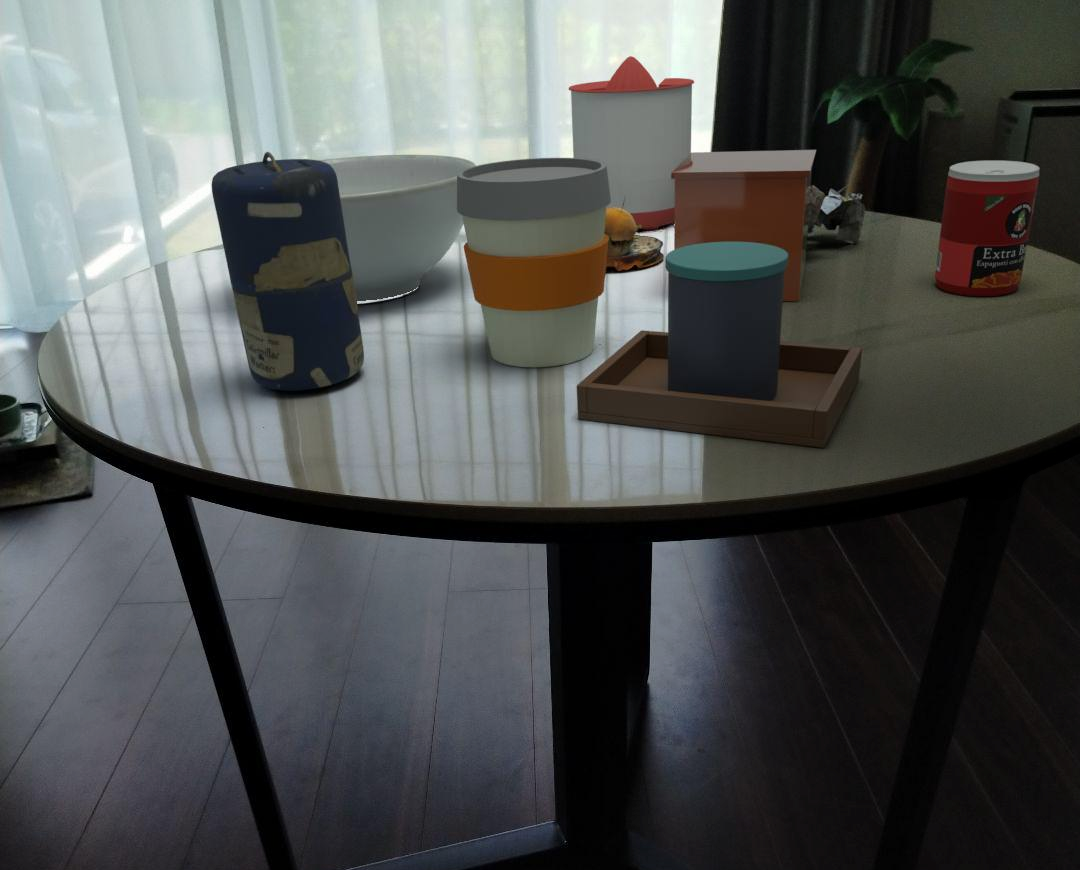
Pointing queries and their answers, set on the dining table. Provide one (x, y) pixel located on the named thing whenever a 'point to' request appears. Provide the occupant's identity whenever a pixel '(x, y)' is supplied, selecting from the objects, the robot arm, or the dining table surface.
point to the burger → (629, 242)
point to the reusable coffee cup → (536, 254)
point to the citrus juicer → (635, 137)
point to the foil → (837, 213)
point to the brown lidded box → (747, 203)
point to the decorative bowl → (397, 218)
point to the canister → (290, 271)
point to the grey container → (725, 319)
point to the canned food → (985, 227)
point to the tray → (790, 417)
